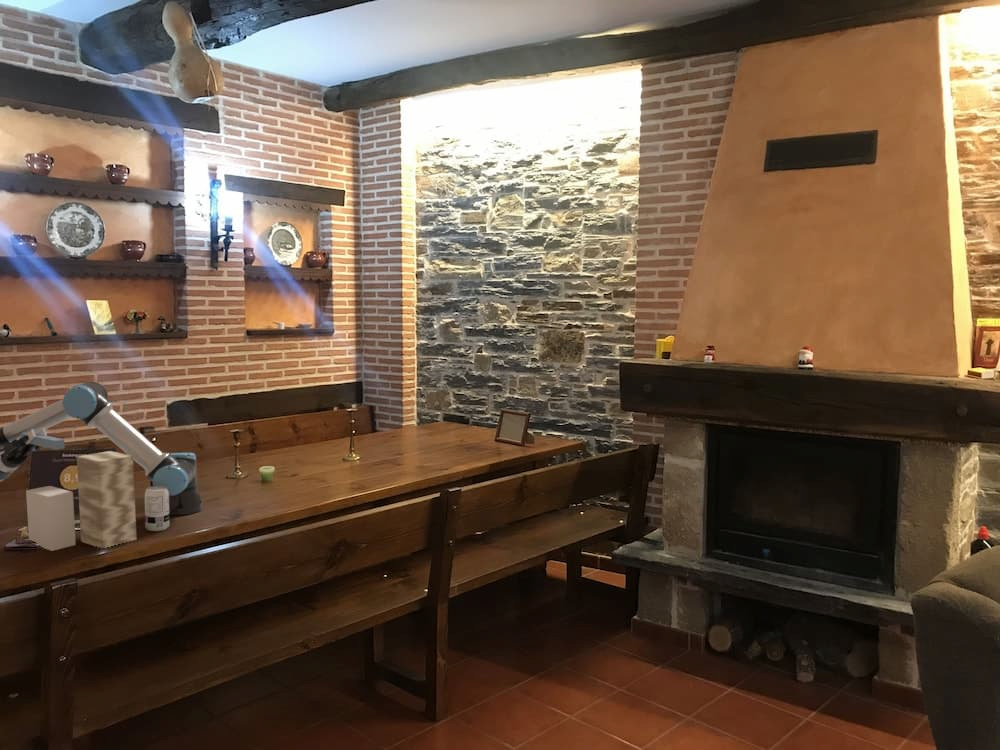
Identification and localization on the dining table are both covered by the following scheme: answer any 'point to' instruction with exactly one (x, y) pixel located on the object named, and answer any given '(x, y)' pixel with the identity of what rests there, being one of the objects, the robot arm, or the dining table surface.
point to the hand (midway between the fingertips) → (39, 432)
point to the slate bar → (47, 441)
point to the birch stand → (106, 498)
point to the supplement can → (156, 508)
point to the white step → (51, 517)
